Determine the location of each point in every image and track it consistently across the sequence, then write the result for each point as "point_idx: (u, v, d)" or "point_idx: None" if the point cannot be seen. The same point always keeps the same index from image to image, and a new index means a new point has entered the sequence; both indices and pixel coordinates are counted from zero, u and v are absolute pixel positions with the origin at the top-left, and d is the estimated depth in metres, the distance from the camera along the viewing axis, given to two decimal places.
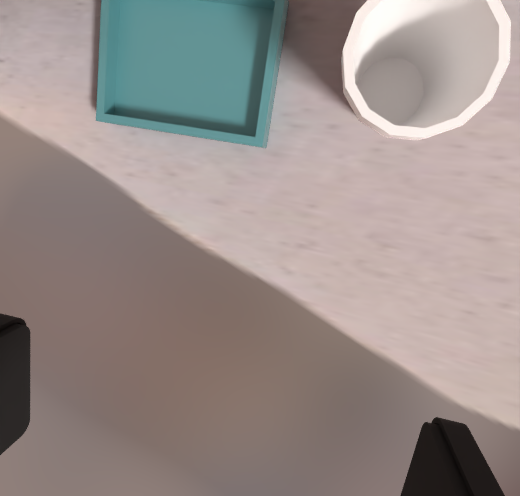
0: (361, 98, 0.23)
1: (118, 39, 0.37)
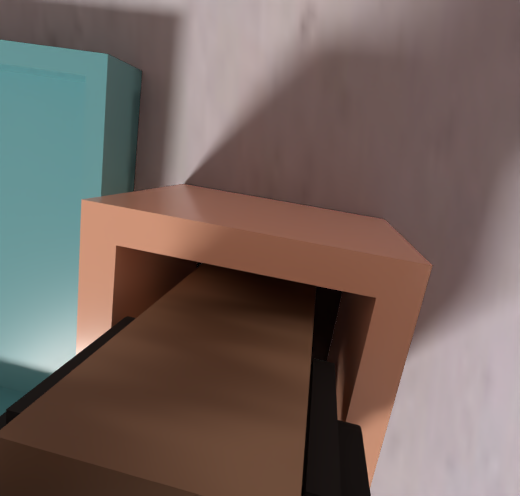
0: None
1: (20, 73, 0.16)
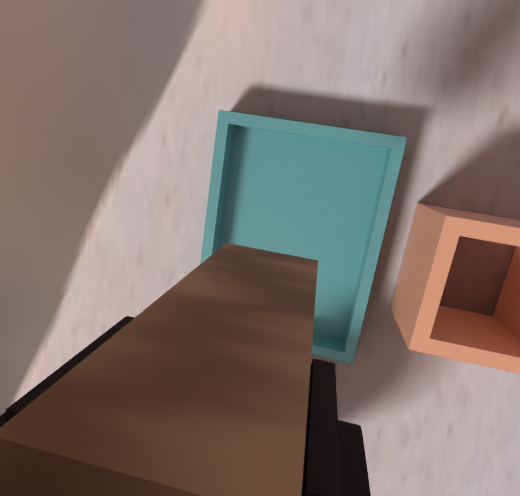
0: None
1: (329, 140, 0.27)
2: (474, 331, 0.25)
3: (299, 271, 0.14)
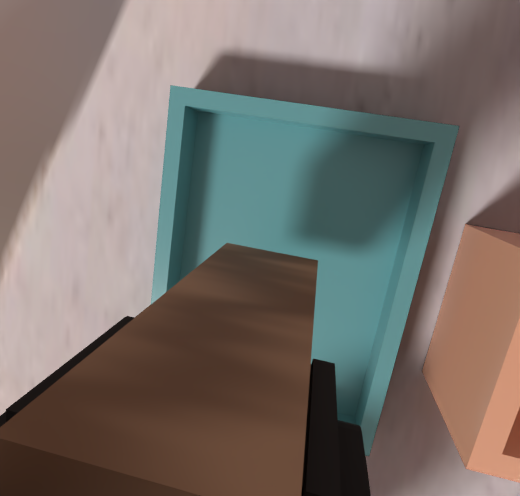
0: None
1: (336, 132, 0.18)
2: None
3: (299, 271, 0.14)
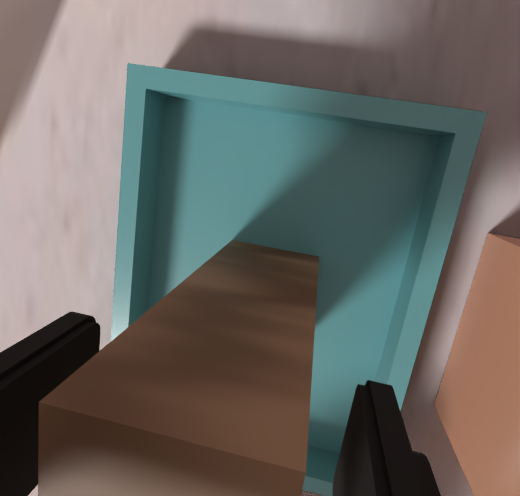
0: None
1: (332, 122, 0.15)
2: None
3: (301, 266, 0.15)
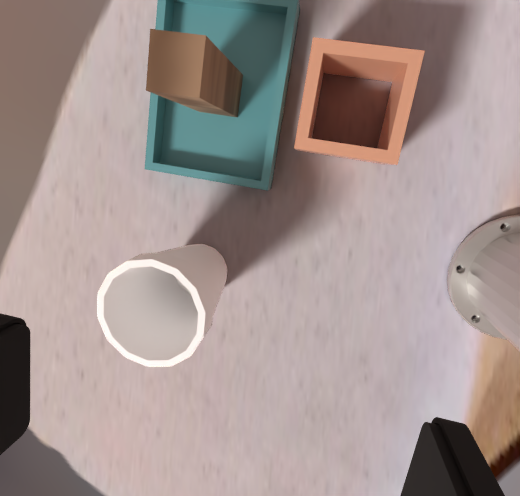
0: (119, 272, 0.30)
1: (246, 10, 0.35)
2: None
3: None
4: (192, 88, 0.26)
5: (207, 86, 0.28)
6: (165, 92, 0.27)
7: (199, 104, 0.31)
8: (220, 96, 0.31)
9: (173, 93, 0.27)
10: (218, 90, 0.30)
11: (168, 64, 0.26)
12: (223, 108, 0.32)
